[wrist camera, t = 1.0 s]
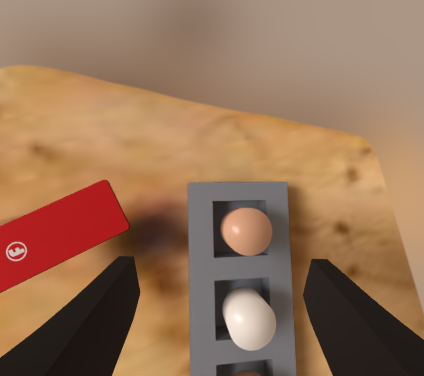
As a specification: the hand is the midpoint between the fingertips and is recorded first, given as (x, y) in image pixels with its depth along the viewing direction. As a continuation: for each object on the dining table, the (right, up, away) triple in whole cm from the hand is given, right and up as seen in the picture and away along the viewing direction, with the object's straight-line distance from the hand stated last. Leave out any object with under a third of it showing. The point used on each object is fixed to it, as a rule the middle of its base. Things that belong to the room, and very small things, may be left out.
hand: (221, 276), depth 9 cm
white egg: (+3, -8, +12) cm, 15 cm away
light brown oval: (+2, 0, +13) cm, 13 cm away
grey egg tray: (+2, -8, +15) cm, 17 cm away
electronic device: (-17, -1, +14) cm, 22 cm away
